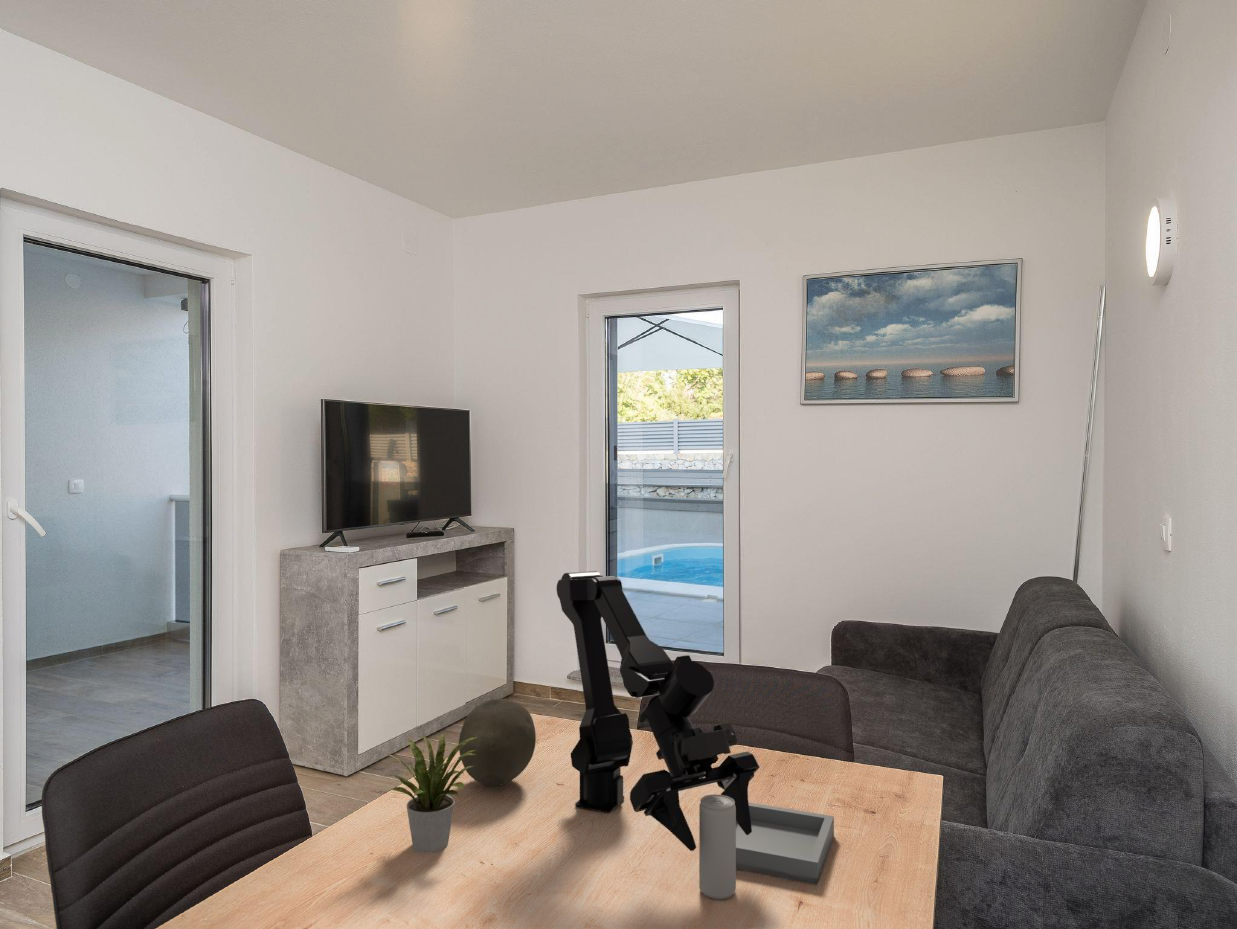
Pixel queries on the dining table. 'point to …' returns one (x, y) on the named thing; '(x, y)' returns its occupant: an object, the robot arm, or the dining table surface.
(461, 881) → the dining table surface
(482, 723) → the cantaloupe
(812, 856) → the tray
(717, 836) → the beverage can
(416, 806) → the house plant
